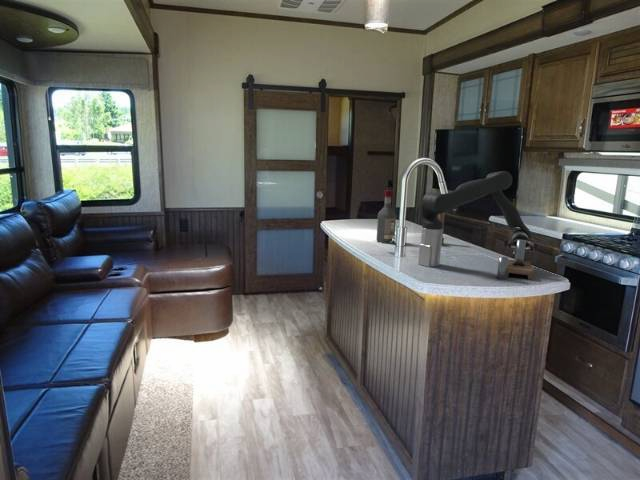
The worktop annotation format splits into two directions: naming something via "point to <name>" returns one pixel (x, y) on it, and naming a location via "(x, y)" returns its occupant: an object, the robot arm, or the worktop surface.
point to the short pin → (502, 268)
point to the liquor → (386, 221)
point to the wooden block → (441, 218)
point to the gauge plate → (519, 269)
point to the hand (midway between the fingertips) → (520, 247)
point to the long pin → (520, 253)
